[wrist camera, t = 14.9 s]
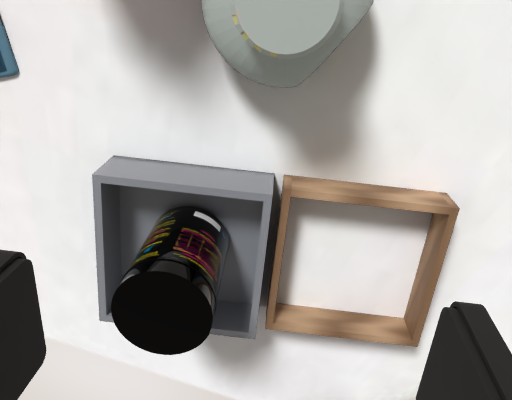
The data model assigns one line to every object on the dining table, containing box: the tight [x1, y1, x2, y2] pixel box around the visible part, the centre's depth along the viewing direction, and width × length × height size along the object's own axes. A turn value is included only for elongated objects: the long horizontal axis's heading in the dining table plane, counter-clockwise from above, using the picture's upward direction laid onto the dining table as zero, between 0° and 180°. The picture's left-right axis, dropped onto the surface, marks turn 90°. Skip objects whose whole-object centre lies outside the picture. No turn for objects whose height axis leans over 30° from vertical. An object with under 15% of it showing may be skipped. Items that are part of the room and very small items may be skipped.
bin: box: [92, 156, 274, 339], centre depth 38 cm, size 13×13×4 cm
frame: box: [265, 175, 460, 347], centre depth 38 cm, size 13×13×3 cm
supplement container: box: [111, 206, 229, 355], centre depth 34 cm, size 7×7×10 cm
